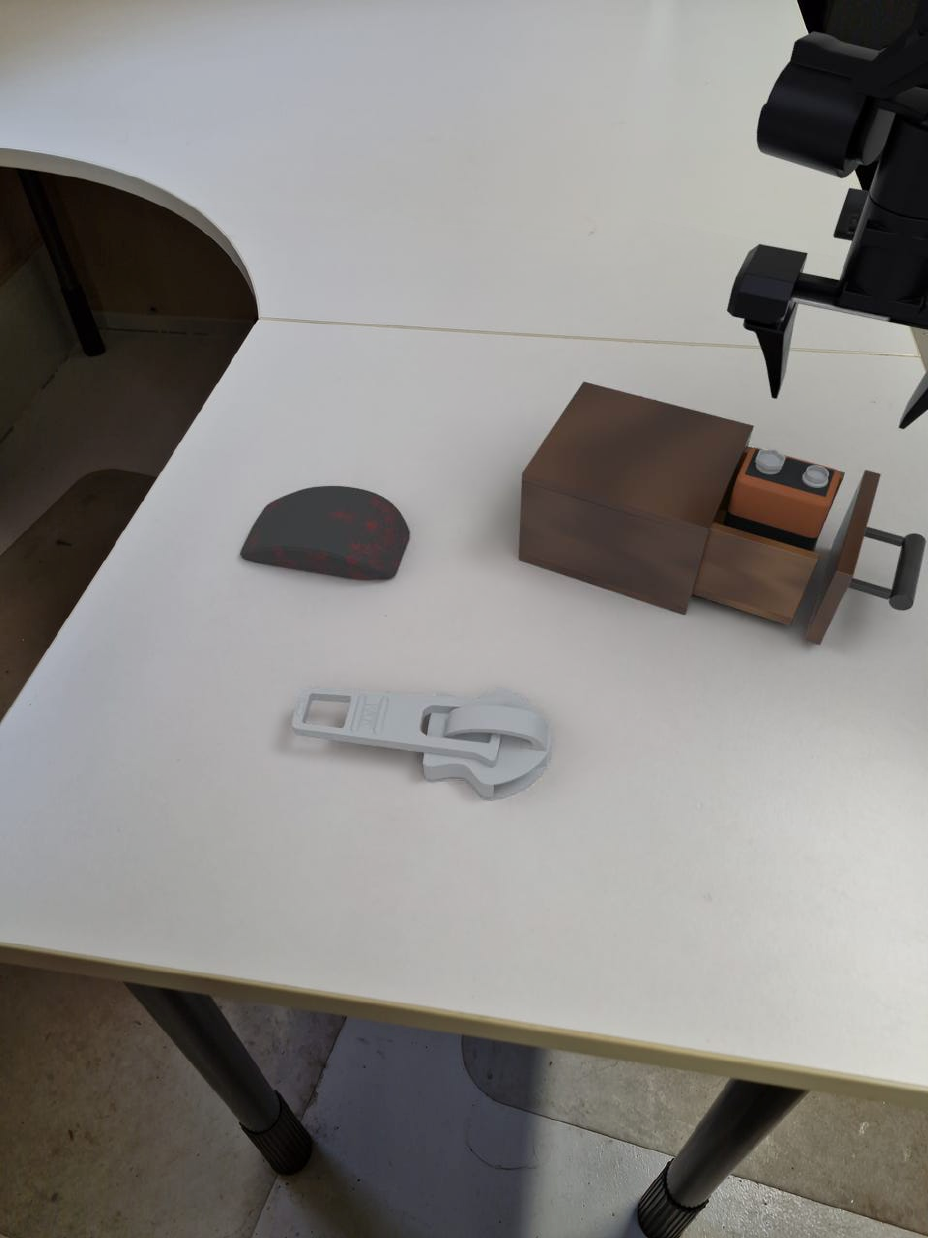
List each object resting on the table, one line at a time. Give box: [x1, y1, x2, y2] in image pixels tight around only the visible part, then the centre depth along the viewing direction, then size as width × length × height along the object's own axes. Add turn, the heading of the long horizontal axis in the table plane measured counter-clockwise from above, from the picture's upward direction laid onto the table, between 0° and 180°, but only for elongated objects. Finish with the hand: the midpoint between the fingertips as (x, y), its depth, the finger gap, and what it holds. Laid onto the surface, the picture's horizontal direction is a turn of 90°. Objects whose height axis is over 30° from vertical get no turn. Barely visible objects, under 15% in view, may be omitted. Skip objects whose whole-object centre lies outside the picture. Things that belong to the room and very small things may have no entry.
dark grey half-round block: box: [239, 485, 411, 580], centre depth 73 cm, size 8×14×4 cm, turn 77°
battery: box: [723, 447, 841, 551], centre depth 66 cm, size 4×7×10 cm, turn 63°
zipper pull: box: [291, 686, 554, 801], centre depth 60 cm, size 8×18×4 cm, turn 83°
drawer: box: [692, 445, 927, 646], centre depth 67 cm, size 18×12×8 cm, turn 64°
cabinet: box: [518, 381, 755, 616], centre depth 71 cm, size 15×13×10 cm
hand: (837, 410), depth 64 cm, fingers open, 9 cm apart
